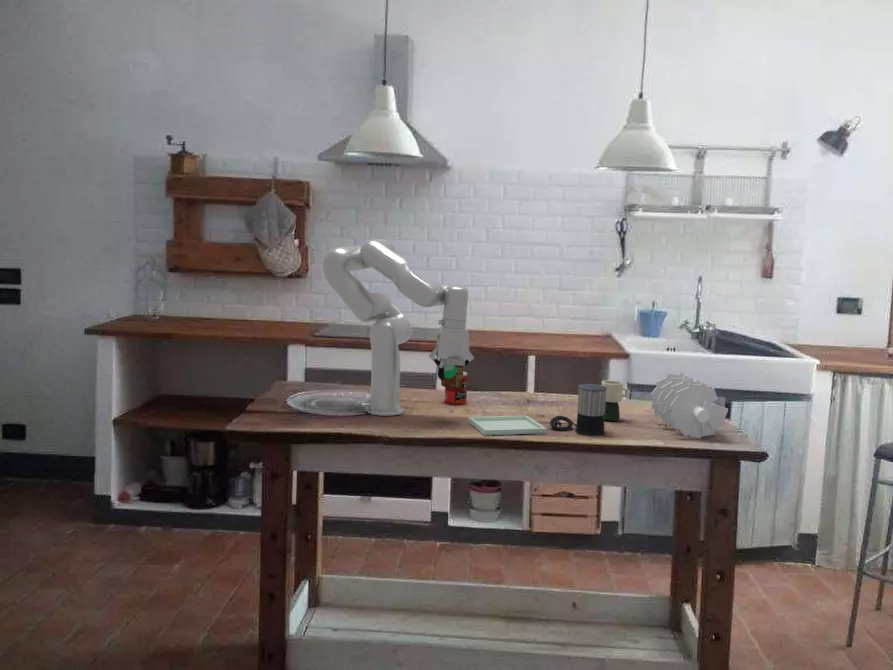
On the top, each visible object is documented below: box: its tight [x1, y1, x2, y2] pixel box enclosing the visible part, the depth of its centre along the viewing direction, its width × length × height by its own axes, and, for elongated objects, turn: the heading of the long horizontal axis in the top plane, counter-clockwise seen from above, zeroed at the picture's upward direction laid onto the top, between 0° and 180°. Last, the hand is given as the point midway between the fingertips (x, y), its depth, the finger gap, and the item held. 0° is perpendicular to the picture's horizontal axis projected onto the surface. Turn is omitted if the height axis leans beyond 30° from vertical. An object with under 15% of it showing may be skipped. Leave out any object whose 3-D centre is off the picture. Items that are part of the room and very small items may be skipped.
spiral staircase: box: [650, 371, 729, 440], centre depth 302 cm, size 18×18×25 cm
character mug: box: [601, 379, 629, 421], centre depth 315 cm, size 11×7×13 cm, turn 94°
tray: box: [468, 415, 547, 437], centre depth 299 cm, size 20×18×2 cm
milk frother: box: [549, 383, 607, 436], centre depth 298 cm, size 14×16×15 cm
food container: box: [440, 357, 466, 389], centre depth 304 cm, size 12×6×10 cm, turn 20°
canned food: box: [444, 371, 468, 406], centre depth 334 cm, size 8×8×11 cm
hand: (449, 378), depth 305 cm, fingers closed on food container, 5 cm apart
